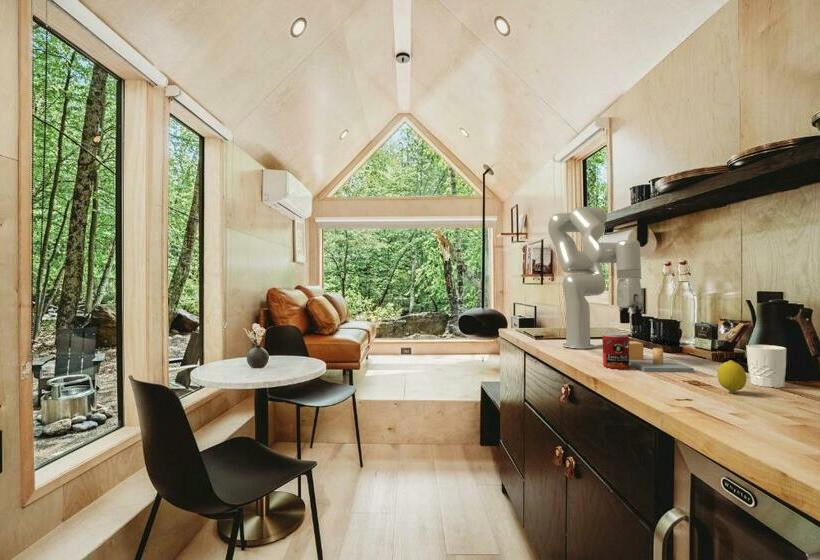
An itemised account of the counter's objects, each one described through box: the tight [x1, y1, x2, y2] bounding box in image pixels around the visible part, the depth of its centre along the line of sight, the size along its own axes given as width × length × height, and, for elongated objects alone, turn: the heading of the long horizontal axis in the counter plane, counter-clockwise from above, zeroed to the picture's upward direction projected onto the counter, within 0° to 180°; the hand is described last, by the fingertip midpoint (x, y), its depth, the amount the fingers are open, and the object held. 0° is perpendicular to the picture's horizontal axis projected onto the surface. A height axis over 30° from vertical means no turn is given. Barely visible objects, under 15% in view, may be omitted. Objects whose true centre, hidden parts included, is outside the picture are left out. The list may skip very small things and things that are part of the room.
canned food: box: [601, 331, 630, 371], centre depth 129 cm, size 8×8×11 cm
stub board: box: [629, 347, 695, 373], centre depth 127 cm, size 13×14×6 cm
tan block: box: [629, 340, 645, 360], centre depth 139 cm, size 6×6×6 cm
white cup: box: [745, 344, 787, 389], centre depth 105 cm, size 8×8×10 cm
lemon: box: [716, 360, 747, 394], centre depth 97 cm, size 6×6×8 cm
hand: (630, 324), depth 138 cm, fingers open, 9 cm apart
